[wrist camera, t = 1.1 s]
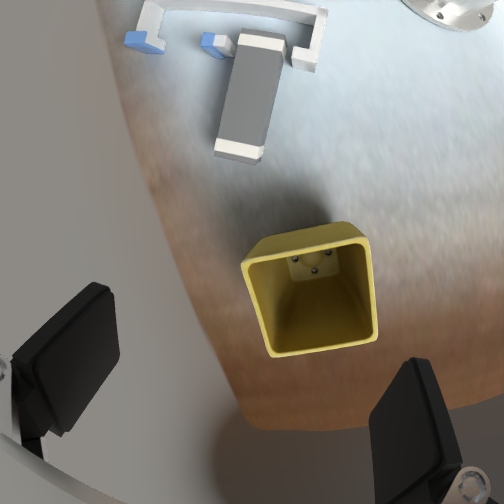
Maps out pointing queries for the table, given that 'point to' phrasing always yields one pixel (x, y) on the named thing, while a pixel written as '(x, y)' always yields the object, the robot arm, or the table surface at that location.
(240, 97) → the white-capped gray brick
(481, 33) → the table surface
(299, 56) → the white arch handle
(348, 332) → the flower pot
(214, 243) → the table surface
